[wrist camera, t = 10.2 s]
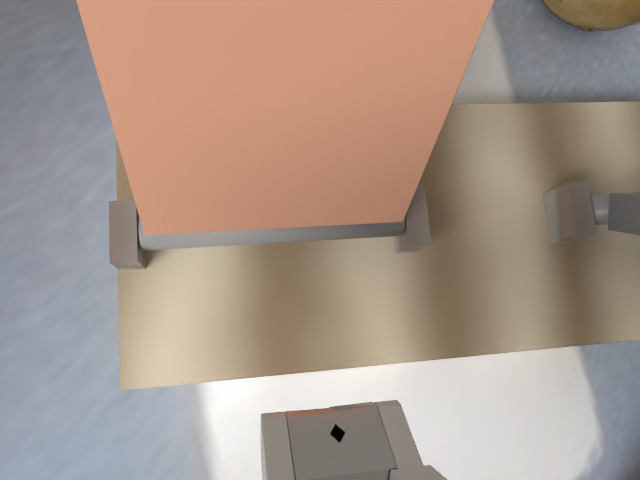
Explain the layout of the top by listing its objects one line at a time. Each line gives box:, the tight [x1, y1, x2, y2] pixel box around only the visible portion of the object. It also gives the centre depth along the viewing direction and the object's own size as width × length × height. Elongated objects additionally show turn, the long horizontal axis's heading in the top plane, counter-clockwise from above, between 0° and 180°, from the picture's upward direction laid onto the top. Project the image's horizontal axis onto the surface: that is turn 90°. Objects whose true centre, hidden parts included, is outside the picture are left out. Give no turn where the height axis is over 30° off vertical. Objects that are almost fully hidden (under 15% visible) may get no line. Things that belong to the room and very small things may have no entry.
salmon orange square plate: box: [76, 0, 494, 251], centre depth 18 cm, size 11×2×12 cm, turn 95°
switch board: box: [109, 101, 640, 390], centre depth 25 cm, size 29×12×5 cm, turn 95°
